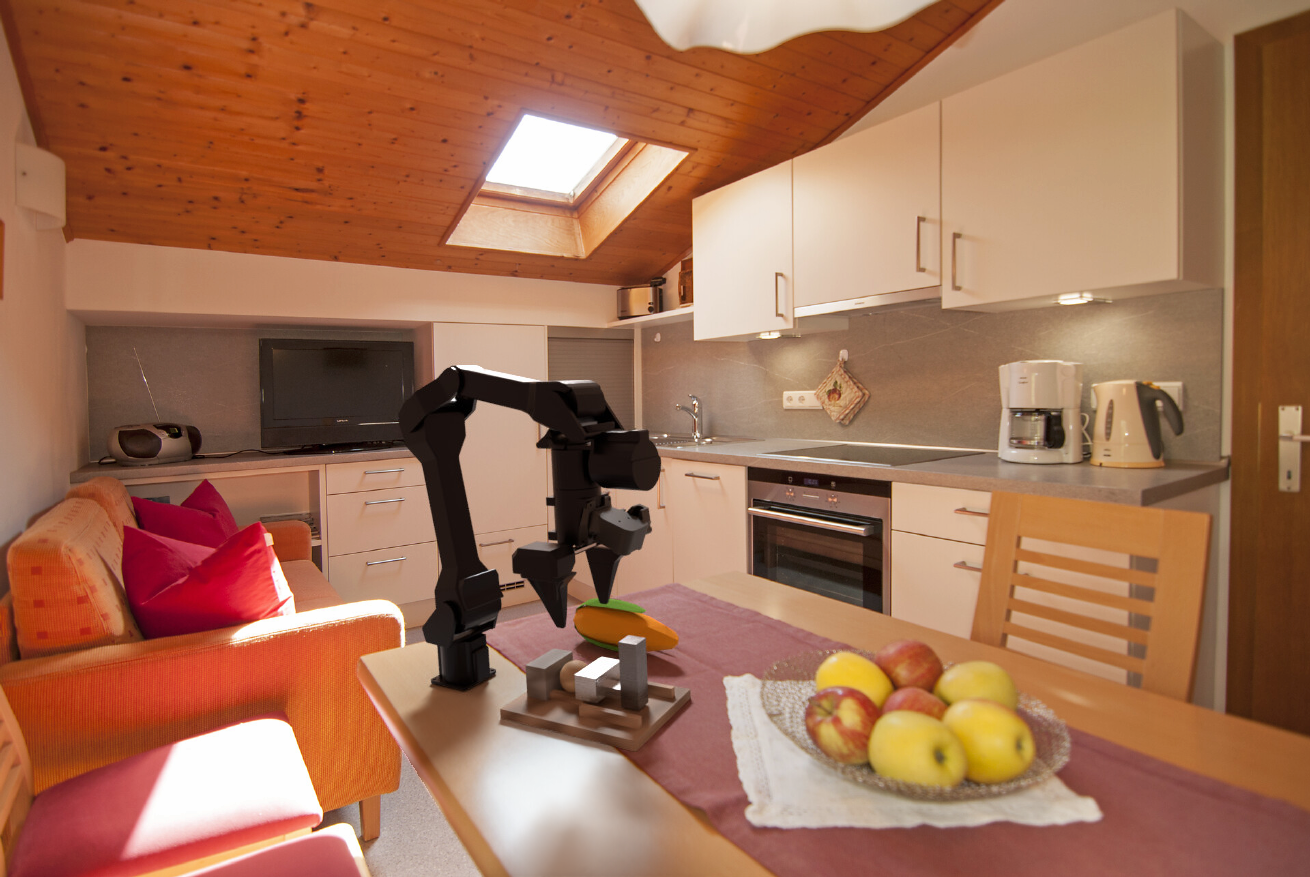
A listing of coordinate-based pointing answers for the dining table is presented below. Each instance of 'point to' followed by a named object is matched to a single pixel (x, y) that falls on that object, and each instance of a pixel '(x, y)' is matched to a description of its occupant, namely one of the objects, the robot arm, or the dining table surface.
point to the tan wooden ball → (570, 674)
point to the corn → (621, 625)
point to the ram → (617, 676)
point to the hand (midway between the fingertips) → (583, 614)
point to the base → (589, 707)
